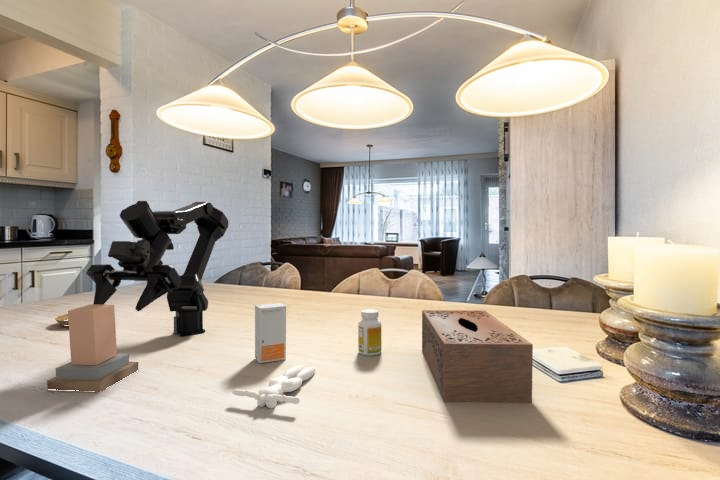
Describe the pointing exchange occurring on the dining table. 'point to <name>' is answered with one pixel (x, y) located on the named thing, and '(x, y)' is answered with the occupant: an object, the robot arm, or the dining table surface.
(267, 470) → the dining table surface
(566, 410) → the dining table surface
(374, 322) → the supplement bottle
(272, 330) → the skincare box
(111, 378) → the tower base slab
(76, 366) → the tower top slab
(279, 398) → the decorative figure
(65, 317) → the plant saucer
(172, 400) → the dining table surface
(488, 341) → the tissue box cover
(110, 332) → the terracotta block
